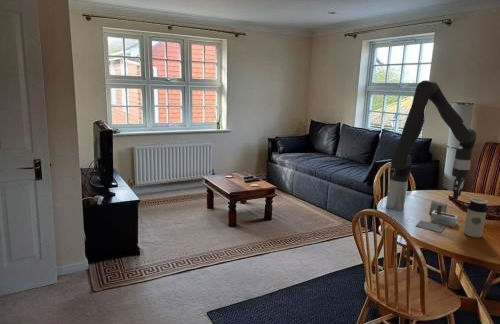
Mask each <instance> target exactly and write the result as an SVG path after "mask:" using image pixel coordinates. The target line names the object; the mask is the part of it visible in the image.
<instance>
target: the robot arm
mask: <svg viewBox="0 0 500 324" xmlns="http://www.w3.org/2000/svg"><path fill="white" fill-rule="evenodd" d="M429 101H430V102H432V103H433V104H434V106H435V108H436V109H437V111H438V113H439V115H440V117H441V119H442V120H443V122H445V123H444V124H446V125H447V126H448V127H449V128H450V130H451V133H452V135H453V136H454V138H455V139H456V140H457V142H459V143H458V144H459V145H458V147H457V148H456V150H455V154H454V160H453V165H452V170H451V176H453V177H455V179H454V180H453V185H452V186H453V187H452V188H453V189H452V192H453V193H452V194H453V195H452V200H455V201H457V200H458V198H459V197H461V194H462V190H463V187H464V182H465V179H468V178H469V175H470V170H471V160H472V154H473V153H472V152H473V149H474V146H475V143H476V139H477V133H476V131H475V130H474V129H472V128H467V127H466V125H465V124H464V120H463V118H462V117H461V115H460V114H459V113H458V112H457V111H456V110H455V109H454V107H453V106H452V105H451V104H450V103H449V101H448V100H447V98H446V97H445V95H444V94H443V92H442V90H441V88H440V87H439V85H438V83H437V82H436V81H434V80H425V79H424V80H422V81H419V83H418V84H417V85H416V88H415V90H414V94H413V100H412V103H411V107H410V109H409V111H408V114H407V117H406V119H405V122H404V125H403V129H402V131H401V134H400V138H399V141H398V144H397V146H396V148H395V151H394V153H393V154H392V157H391V160H390V164H391V166H392V168H393V169H394V170H393V172H392V173H391V175H390V182H389V189H388V191H387V196H386V205H385V208H389V209H390V210H394V211H402V210H404V209H405V202H406V196H407V195H406V194H407V189H408V188H407V187H408V182H409V181H408V180H409V177H410V175H411V169H412V163H413V160H412V156H411V155H410V151H411V149H412V147H413V145H414V144H415V143H416V141H417V140H418V138H419V137H420V135H421V132H422V130H423V127H424V125H425V113H426V112H425V111H426V107H427V104H428V102H429Z"/></svg>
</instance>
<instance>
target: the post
mask: <svg viewBox="0 0 500 324" xmlns="http://www.w3.org/2000/svg"><path fill="white" fill-rule="evenodd" d="M441 209H442V205H438V208H437V214H441Z"/></svg>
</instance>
